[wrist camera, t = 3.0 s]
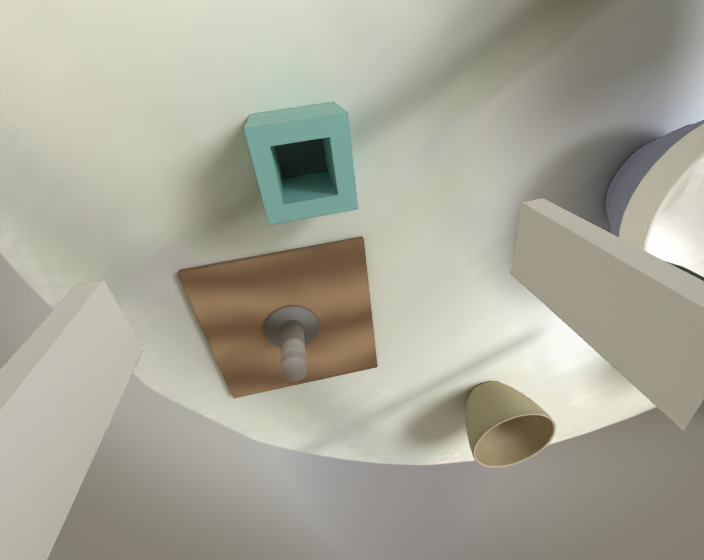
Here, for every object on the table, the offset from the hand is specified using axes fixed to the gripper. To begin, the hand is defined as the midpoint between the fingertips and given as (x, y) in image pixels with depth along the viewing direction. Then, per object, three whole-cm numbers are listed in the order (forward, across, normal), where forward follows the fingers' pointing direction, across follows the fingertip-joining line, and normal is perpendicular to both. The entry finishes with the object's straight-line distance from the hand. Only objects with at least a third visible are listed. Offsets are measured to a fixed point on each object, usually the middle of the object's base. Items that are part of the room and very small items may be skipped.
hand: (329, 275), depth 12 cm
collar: (+18, 0, 0) cm, 18 cm away
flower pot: (+19, +18, -34) cm, 43 cm away
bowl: (+19, +32, -8) cm, 38 cm away
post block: (+18, -4, -16) cm, 25 cm away
